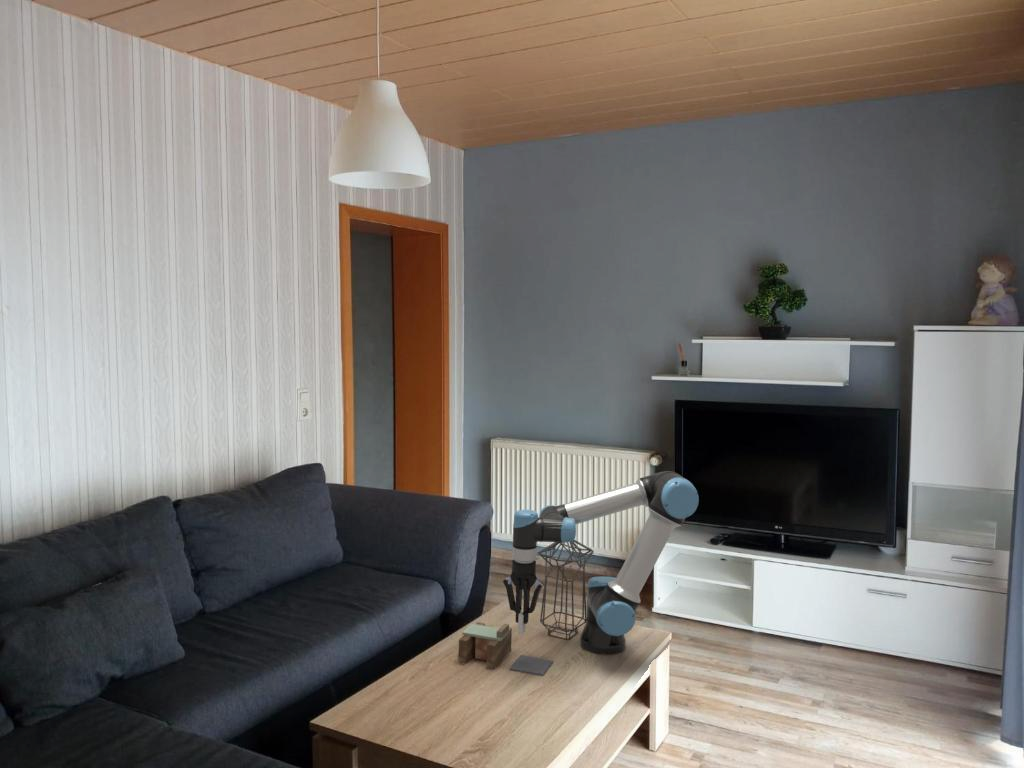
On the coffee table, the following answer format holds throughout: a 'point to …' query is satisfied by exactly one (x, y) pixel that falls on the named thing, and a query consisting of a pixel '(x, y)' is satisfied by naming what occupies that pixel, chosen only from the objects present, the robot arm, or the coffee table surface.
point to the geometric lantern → (566, 583)
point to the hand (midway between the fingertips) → (521, 632)
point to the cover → (487, 631)
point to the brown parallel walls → (494, 649)
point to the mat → (531, 665)
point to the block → (481, 648)
